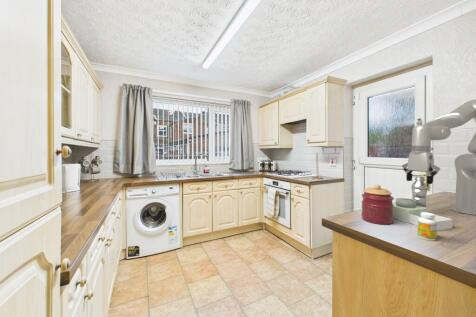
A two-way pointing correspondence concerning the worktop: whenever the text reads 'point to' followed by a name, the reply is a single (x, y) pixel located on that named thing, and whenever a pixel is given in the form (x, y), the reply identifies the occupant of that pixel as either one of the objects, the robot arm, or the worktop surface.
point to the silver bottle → (419, 191)
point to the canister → (377, 206)
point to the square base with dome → (416, 214)
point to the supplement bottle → (427, 226)
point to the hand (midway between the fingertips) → (418, 182)
